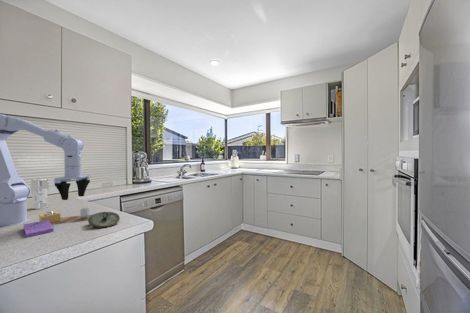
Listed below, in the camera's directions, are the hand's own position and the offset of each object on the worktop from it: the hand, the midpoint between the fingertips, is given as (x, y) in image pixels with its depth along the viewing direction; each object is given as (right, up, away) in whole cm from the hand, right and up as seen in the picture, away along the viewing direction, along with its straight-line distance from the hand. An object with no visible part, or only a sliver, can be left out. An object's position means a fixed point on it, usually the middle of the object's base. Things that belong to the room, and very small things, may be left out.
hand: (73, 197), depth 90 cm
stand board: (0, -9, -3) cm, 10 cm away
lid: (+18, -9, -8) cm, 22 cm away
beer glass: (-34, -10, +22) cm, 42 cm away
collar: (-6, -9, -5) cm, 11 cm away
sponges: (-1, -9, -15) cm, 17 cm away
